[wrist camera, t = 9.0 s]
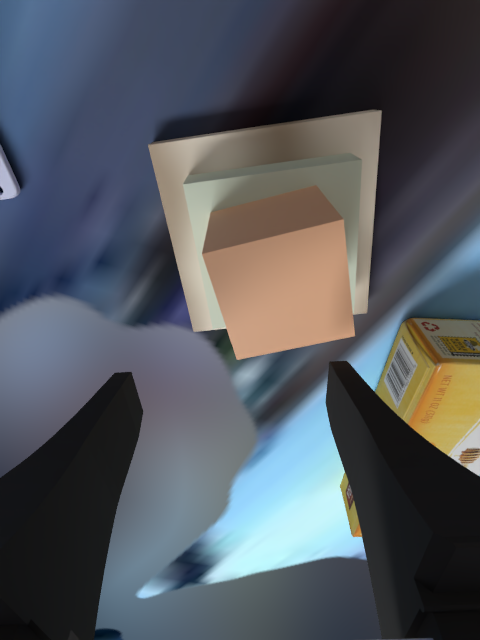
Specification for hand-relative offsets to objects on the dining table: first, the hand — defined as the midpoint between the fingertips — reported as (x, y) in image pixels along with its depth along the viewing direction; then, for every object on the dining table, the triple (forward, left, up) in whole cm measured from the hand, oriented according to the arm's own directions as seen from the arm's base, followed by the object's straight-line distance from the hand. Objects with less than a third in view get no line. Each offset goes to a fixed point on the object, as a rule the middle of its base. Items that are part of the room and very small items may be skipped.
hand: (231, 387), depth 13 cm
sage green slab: (+3, +2, -9) cm, 10 cm away
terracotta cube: (+2, +2, -7) cm, 8 cm away
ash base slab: (+2, +2, -11) cm, 12 cm away
